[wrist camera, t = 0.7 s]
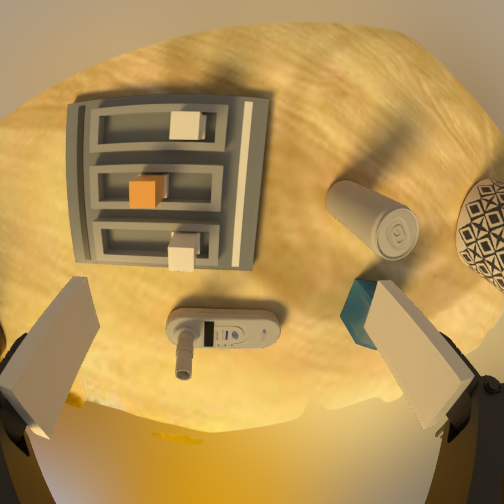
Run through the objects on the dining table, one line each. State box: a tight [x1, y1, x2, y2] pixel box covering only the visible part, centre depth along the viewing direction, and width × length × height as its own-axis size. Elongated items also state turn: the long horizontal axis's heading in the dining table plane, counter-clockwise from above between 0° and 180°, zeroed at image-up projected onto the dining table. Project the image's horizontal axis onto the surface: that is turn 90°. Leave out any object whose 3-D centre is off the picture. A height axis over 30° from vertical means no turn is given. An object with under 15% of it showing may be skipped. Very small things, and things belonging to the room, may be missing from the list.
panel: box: [66, 94, 269, 271], centre depth 27 cm, size 22×19×3 cm
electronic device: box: [165, 308, 281, 380], centre depth 32 cm, size 5×10×15 cm
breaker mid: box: [129, 173, 169, 208], centre depth 25 cm, size 3×2×5 cm
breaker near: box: [169, 111, 207, 140], centre depth 23 cm, size 3×2×5 cm
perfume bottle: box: [340, 279, 378, 350], centre depth 32 cm, size 6×6×12 cm
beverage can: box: [326, 180, 419, 261], centre depth 26 cm, size 5×5×12 cm
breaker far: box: [168, 231, 200, 272], centre depth 28 cm, size 3×2×5 cm
